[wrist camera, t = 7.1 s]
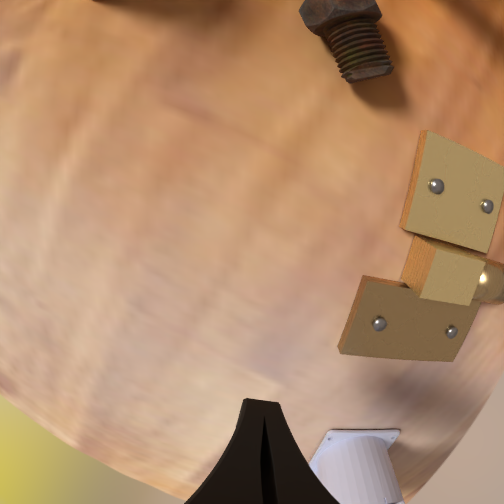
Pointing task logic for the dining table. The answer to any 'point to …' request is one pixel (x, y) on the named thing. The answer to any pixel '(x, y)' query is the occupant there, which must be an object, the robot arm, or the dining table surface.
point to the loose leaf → (449, 218)
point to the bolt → (350, 35)
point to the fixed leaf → (414, 319)
